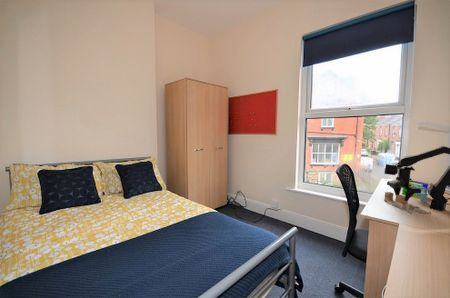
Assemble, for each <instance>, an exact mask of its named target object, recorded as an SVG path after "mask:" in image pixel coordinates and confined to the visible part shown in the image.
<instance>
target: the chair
mask: <svg viewBox="0 0 450 298" xmlns="http://www.w3.org/2000/svg"><path fill="white" fill-rule="evenodd" d="M412 187H416V188H420V189H421V190H422V189H425V190H426V191H425V193H424V192H422V191H421V193H414V194H416V195H418V196H419V198H420V201H421V202H423V203H427V197H428V196H429V194H428V189H426V188H424V187H421V186H419V185H412ZM421 196H423V198H422V197H421Z"/></svg>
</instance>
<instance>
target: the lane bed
mask: <svg viewBox="0 0 450 298" xmlns="http://www.w3.org/2000/svg"><path fill="white" fill-rule="evenodd" d="M411 204H412V203H411ZM403 205H405V204H403ZM412 205H415V204H412ZM391 206H392V207H395V208H396V209H399V210H402V211H404V212H406V213H408V214H413V211H414V212H416V213H418V214H423V213H422V212H420V211H418V210H416V209H414V208H411V207H409V209H403V208H401V207H399V206H396V205H394V204H391ZM415 206H416V208H422V207H420V206H418V205H415ZM424 209H425V210H427V209H426V208H424ZM410 210H412V211H410ZM429 211H430V213H429V214H431V213H432V211H431V210H429Z"/></svg>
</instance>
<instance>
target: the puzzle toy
mask: <svg viewBox="0 0 450 298" xmlns="http://www.w3.org/2000/svg"><path fill="white" fill-rule="evenodd" d="M409 184H410V185H411V186H409V187H412V185H419V186H421V187H424V188H426V189H427V188H429V183H426V182H422V181H421V182H420V181H416V180H410V182H409ZM401 191H402V192H401V193H402V194H401V195H404V196H405V192H404V191H407V190H406V189H404V188H402V189H401ZM421 191H422V192H424V193H425V191H426V190H425V189H422V190H421ZM421 197H422V199H423V196H421ZM410 198H416V199H418V200H419V199H420V198H419V196H418V195H416V194H413V195H412V196H411V197H410Z"/></svg>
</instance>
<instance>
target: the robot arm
mask: <svg viewBox="0 0 450 298" xmlns="http://www.w3.org/2000/svg"><path fill="white" fill-rule="evenodd" d="M443 154H447V155H449V156H450V147H448V146H444V145H441V146H438V147H436V148H432V149H430V150H427V151H425V152H420V153H418V154H414V155H406V156H402V157H401V158H400V159H399V161H398V162H397V163H396V164H390V163H389V164H388V163H386V164H385V168H384V175H390V176H396V175H398V176H396V177H395V179H392V180H388V181H387V183H386V185H387V186H389V188H391V189H393V193H394V195H395V196H396V195H401V191H402V189H403V188H404V189H406V190H407V191H404V192H405V195H404V196H405V201H408V202H409V200H410V198H412V197H411V196H412V195H413V194H414V193H421V189H420V188H416V187H409V186H411V185H410V184H409V182H410V180H412V178H411V174H412V172H411V171H413V172H415V171H416V169H415V168H414V167H413V166H412V165H415V164H417V163H418V162H421V161H423V160H426V159H430V158H434V157H436V156H440V155H443ZM412 181H413V180H412ZM449 184H450V164H449V165H448V167H447V168H446V170H445V171H444V172H443V174H442V175H441V176H440V178H439V179H438V180H437V182H435V183H430V185H429V186H428V188H427V189H428V191H427V194H428V196H429V197H430V198H431V200H430V204H429V208H430V209H432V210H434V211H439V212H440V211H442V212H443V211H446V206H447V203H448V201H449V200H448V198H446V196H444V195H445V192H446V188H447V187H448V185H449Z"/></svg>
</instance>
